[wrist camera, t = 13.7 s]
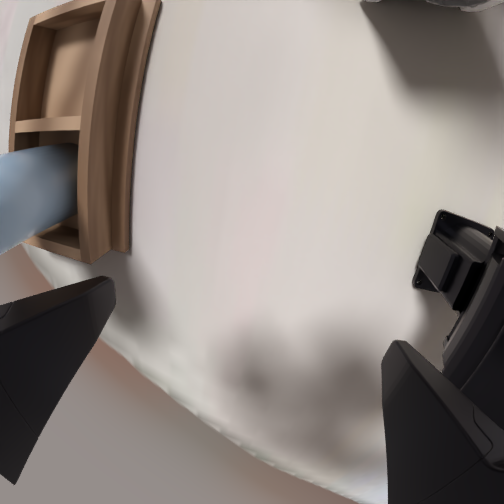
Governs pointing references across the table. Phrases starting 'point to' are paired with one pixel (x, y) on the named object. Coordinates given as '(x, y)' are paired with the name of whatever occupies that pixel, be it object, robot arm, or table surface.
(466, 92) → the table surface
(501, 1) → the electronic device
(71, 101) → the wooden divided tray
